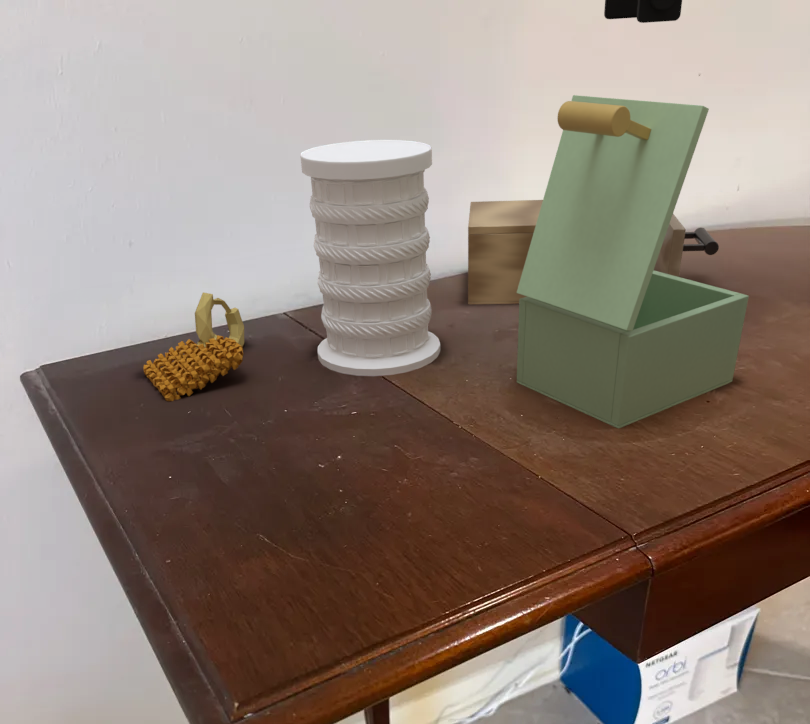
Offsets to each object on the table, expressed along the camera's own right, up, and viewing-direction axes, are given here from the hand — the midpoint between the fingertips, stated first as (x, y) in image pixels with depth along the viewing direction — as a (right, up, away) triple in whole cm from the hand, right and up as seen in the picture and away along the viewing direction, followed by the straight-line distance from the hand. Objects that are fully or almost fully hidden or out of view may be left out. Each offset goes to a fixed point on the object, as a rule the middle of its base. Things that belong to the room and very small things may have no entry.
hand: (639, 19), depth 66 cm
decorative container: (-21, -25, +11) cm, 35 cm away
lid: (-5, -19, -7) cm, 20 cm away
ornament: (-37, -27, +10) cm, 47 cm away
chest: (-1, -29, +3) cm, 30 cm away
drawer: (+6, -14, +24) cm, 28 cm away
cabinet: (-5, -14, +26) cm, 30 cm away
